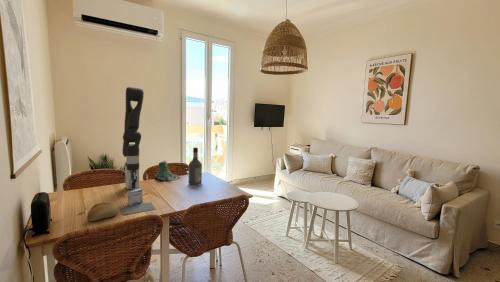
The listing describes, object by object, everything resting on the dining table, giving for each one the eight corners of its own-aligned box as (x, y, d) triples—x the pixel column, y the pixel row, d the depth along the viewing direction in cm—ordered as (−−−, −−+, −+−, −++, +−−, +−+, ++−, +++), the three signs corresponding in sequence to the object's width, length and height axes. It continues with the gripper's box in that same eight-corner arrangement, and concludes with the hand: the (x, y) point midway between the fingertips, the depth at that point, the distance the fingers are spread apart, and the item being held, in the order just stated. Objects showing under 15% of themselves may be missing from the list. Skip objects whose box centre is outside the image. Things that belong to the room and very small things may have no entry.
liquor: (202, 183, 206) (203, 147, 202) (197, 186, 198) (197, 149, 194) (192, 181, 209) (193, 146, 205) (187, 184, 200) (187, 148, 196)
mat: (119, 207, 150) (119, 207, 150) (151, 202, 161) (151, 202, 161) (122, 215, 141) (122, 214, 141) (155, 209, 151) (155, 208, 151)
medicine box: (131, 206, 153) (131, 192, 152) (127, 204, 155) (126, 191, 155) (142, 202, 160) (142, 189, 159) (138, 201, 162) (138, 188, 161)
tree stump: (178, 182, 208) (173, 161, 204) (154, 187, 206) (148, 167, 202) (181, 175, 226) (176, 156, 222) (159, 180, 224) (154, 161, 220)
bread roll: (84, 219, 134) (83, 205, 133) (113, 211, 145) (113, 198, 144) (90, 225, 128) (89, 210, 127) (120, 216, 139) (120, 203, 138)
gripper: (141, 163, 157) (141, 190, 159) (137, 159, 168) (137, 184, 170) (128, 164, 153) (129, 191, 155) (124, 160, 164) (125, 186, 166)
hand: (133, 188), depth 162 cm, fingers closed
